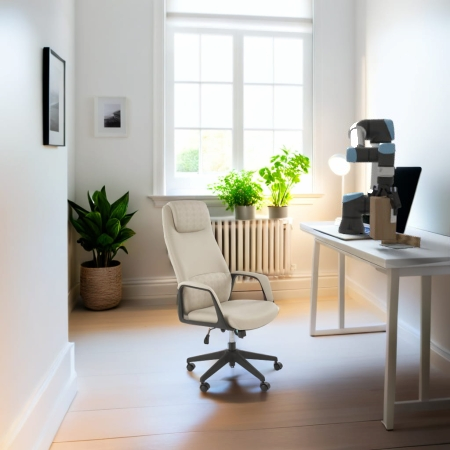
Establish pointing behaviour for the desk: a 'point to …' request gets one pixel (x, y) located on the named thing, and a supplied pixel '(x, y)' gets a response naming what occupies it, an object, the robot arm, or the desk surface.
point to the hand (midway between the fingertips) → (383, 220)
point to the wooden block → (381, 219)
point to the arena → (402, 241)
